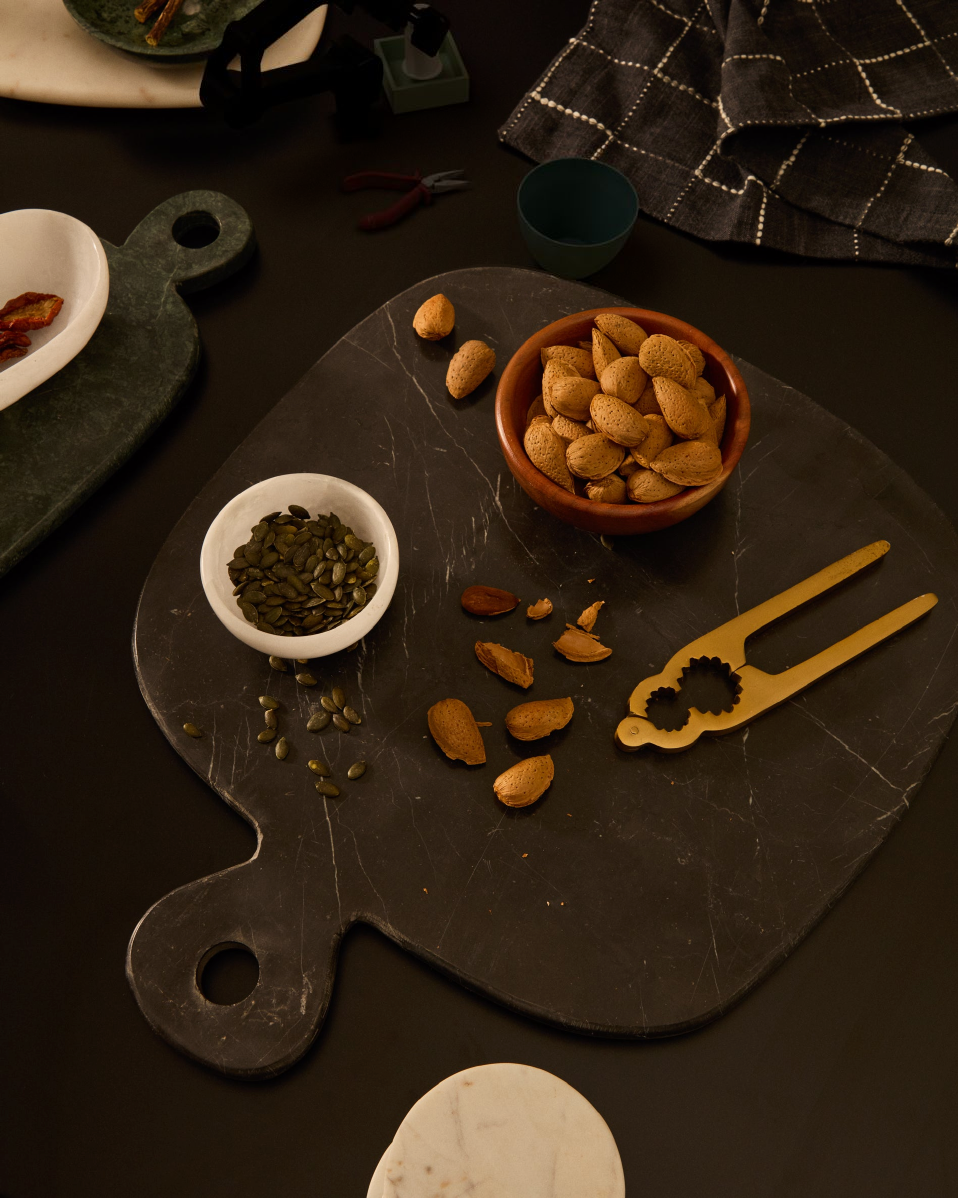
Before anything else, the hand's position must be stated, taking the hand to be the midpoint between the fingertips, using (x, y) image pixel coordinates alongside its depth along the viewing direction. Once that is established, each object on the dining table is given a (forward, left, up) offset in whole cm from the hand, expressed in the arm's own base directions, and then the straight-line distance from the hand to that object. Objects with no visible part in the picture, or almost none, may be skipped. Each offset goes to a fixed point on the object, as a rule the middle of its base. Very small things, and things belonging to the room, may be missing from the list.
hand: (425, 29), depth 165 cm
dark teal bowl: (+47, +11, -9) cm, 49 cm away
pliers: (+29, -11, -9) cm, 32 cm away
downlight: (0, -1, -7) cm, 7 cm away
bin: (+1, -1, -9) cm, 9 cm away
